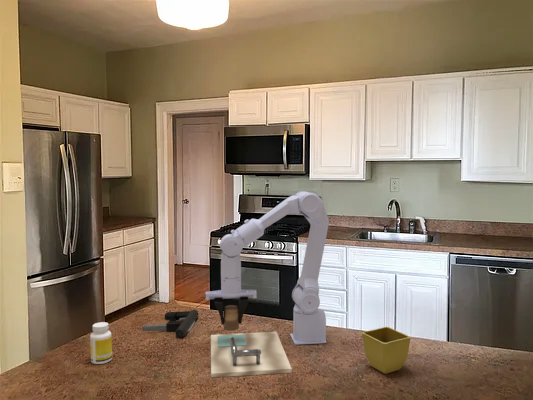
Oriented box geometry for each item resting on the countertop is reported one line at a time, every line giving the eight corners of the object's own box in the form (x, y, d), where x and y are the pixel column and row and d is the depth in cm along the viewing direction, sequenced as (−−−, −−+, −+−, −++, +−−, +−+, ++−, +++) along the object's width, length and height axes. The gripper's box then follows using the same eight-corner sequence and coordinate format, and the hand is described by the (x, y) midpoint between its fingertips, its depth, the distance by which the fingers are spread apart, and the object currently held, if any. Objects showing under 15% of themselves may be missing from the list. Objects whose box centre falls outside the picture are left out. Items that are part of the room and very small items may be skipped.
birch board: (276, 334, 139) (276, 331, 139) (291, 372, 114) (291, 368, 113) (210, 338, 137) (210, 334, 137) (211, 377, 111) (211, 373, 111)
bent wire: (257, 348, 126) (257, 335, 126) (261, 364, 116) (261, 350, 115) (229, 350, 125) (229, 336, 125) (231, 366, 115) (231, 352, 114)
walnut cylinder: (239, 330, 129) (239, 309, 129) (224, 331, 129) (223, 310, 128) (238, 324, 134) (238, 304, 133) (223, 325, 133) (223, 305, 133)
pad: (244, 335, 136) (244, 334, 136) (246, 346, 128) (246, 344, 128) (217, 337, 135) (217, 336, 135) (218, 347, 127) (218, 346, 127)
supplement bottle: (116, 358, 123) (115, 322, 122) (101, 366, 118) (100, 329, 117) (101, 354, 125) (100, 320, 124) (86, 362, 120) (84, 326, 119)
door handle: (135, 330, 137) (187, 328, 136) (156, 310, 157) (201, 308, 156) (136, 341, 138) (188, 339, 136) (157, 319, 158) (202, 317, 156)
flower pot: (383, 379, 110) (384, 343, 109) (360, 365, 117) (360, 331, 117) (410, 372, 114) (411, 336, 113) (386, 359, 121) (387, 326, 121)
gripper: (254, 272, 135) (255, 317, 136) (205, 274, 133) (206, 319, 134) (257, 278, 128) (257, 325, 129) (205, 279, 126) (206, 327, 127)
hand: (231, 322), depth 131 cm, fingers closed on walnut cylinder, 4 cm apart
